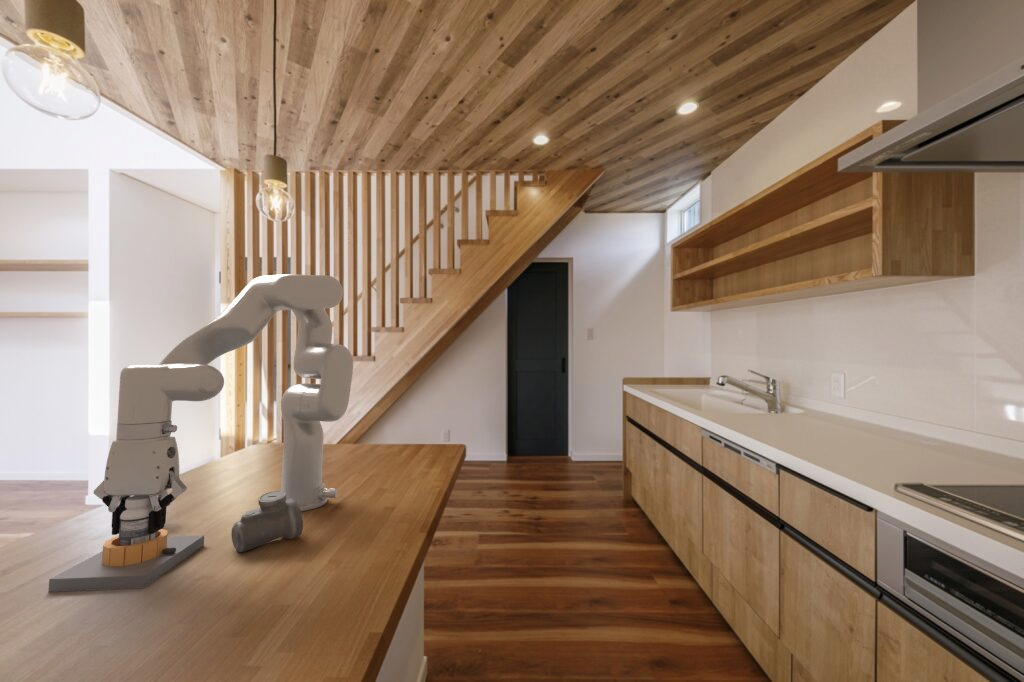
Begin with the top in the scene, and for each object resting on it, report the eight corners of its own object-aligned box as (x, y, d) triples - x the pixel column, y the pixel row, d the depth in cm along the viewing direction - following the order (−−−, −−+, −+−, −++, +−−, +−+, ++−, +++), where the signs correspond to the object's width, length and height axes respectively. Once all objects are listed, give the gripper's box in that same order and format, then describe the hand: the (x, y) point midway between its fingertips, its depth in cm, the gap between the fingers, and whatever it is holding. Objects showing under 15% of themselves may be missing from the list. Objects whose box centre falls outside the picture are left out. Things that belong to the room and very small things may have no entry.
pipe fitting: (292, 526, 93) (290, 482, 92) (306, 540, 88) (304, 494, 87) (229, 549, 85) (226, 501, 84) (240, 566, 79) (237, 515, 78)
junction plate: (203, 545, 84) (205, 520, 84) (143, 587, 68) (145, 556, 69) (127, 547, 83) (129, 522, 83) (48, 591, 67) (50, 560, 67)
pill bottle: (134, 540, 78) (137, 492, 79) (163, 539, 79) (166, 492, 79) (109, 553, 73) (112, 501, 73) (141, 552, 73) (144, 501, 74)
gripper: (206, 428, 82) (201, 522, 81) (110, 428, 80) (104, 524, 79) (180, 434, 74) (175, 538, 73) (74, 435, 72) (67, 541, 71)
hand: (138, 530), depth 76 cm, fingers closed on pill bottle, 5 cm apart
